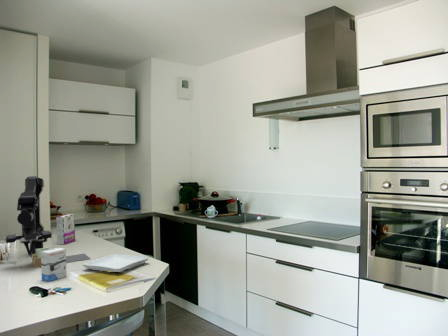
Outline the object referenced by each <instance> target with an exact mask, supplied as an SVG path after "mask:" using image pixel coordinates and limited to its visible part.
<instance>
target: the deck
mask: <svg viewBox="0 0 448 336" xmlns="http://www.w3.org/2000/svg"><path fill="white" fill-rule="evenodd" d="M31 263H32V265H33V267H34V268H41V258H38V257H37V255H36V254H32V255H31Z"/></svg>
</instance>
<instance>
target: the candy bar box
mask: <svg viewBox="0 0 448 336" xmlns="http://www.w3.org/2000/svg"><path fill="white" fill-rule="evenodd" d="M55 218H56V219H55V220H56V236H57V237H56V241H57V245H59V246H60V245H61V246H63V245H68V244H70V243H74V242H75V241H76V233H75V232H76V230H75V229H76V227H75V215H74V213H72V214H69V213H68V214H63V215H60V216H56V217H55Z"/></svg>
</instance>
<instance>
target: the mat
mask: <svg viewBox="0 0 448 336" xmlns="http://www.w3.org/2000/svg"><path fill="white" fill-rule="evenodd" d="M88 260H91V257H89V256H88V255H87V254H85V253H79V254H72V255H66V264H68V263H74V262H82V261H88Z"/></svg>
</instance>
